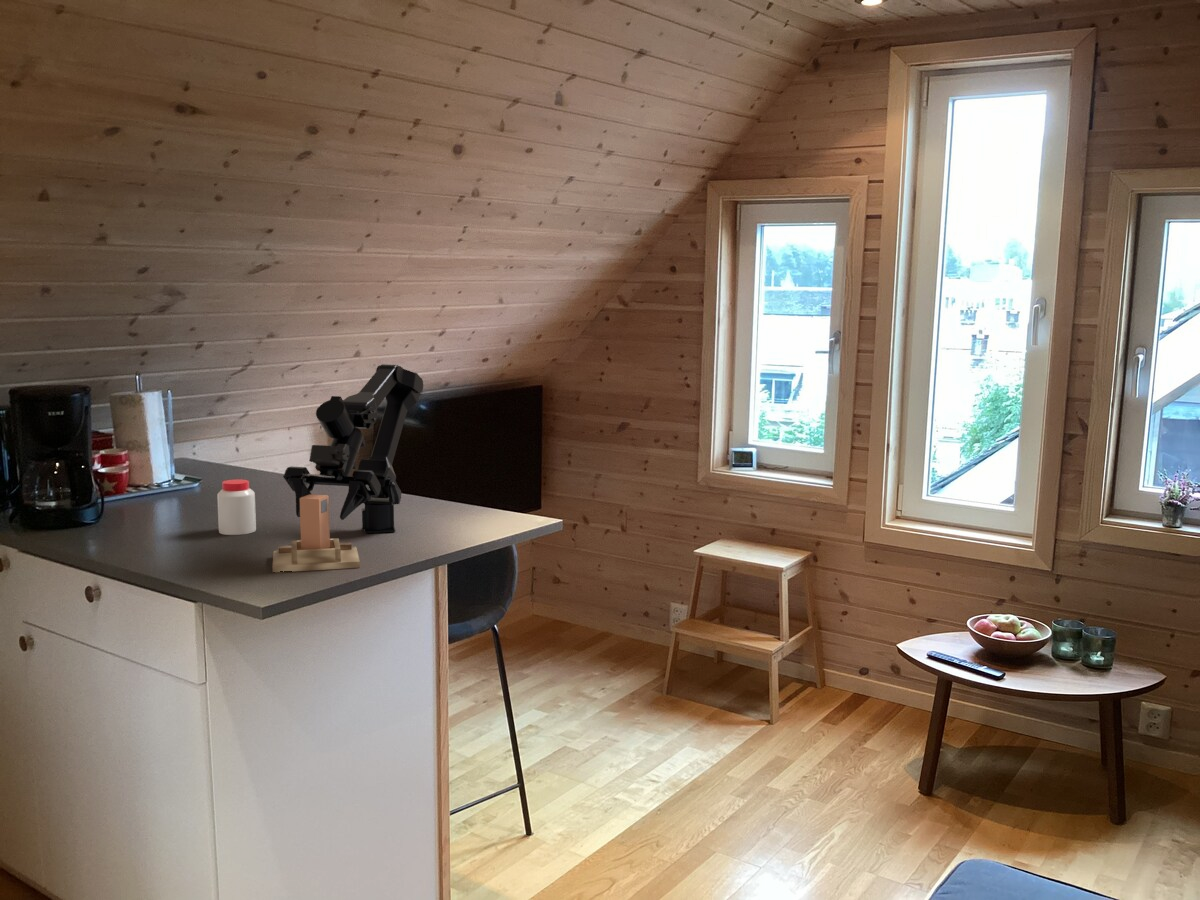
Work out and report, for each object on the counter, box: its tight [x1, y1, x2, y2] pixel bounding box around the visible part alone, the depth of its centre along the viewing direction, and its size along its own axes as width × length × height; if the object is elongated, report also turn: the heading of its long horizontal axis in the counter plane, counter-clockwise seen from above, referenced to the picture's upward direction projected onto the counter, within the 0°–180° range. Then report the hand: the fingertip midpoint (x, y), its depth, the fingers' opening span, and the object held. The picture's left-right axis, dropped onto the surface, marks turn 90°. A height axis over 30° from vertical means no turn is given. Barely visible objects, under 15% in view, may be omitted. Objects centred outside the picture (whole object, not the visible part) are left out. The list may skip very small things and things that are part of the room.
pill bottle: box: [216, 478, 257, 536], centre depth 233 cm, size 8×8×11 cm
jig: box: [272, 537, 361, 573], centre depth 208 cm, size 16×12×4 cm
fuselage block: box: [299, 493, 331, 550], centre depth 206 cm, size 4×4×12 cm
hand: (319, 517), depth 208 cm, fingers open, 9 cm apart
